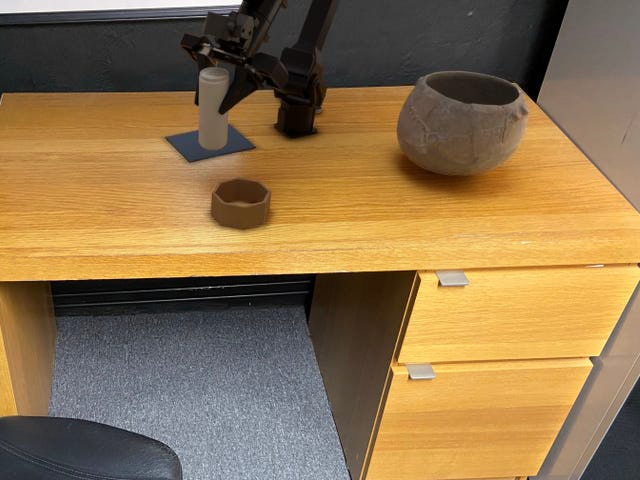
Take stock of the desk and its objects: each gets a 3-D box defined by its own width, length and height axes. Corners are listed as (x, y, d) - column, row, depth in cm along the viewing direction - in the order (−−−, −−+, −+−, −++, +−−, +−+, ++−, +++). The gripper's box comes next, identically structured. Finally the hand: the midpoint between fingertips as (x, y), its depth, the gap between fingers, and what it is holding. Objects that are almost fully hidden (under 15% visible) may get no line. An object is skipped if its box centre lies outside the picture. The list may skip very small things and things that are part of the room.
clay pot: (374, 143, 133) (391, 64, 123) (479, 138, 135) (504, 59, 124) (411, 199, 118) (433, 114, 108) (529, 193, 119) (562, 108, 109)
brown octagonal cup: (250, 195, 119) (252, 173, 116) (277, 220, 113) (279, 198, 110) (203, 206, 116) (204, 185, 114) (228, 233, 111) (229, 211, 108)
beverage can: (220, 153, 114) (223, 81, 106) (193, 148, 115) (194, 76, 107) (231, 141, 117) (234, 69, 109) (205, 135, 119) (206, 65, 110)
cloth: (228, 125, 139) (228, 123, 139) (255, 147, 132) (255, 146, 132) (165, 138, 135) (165, 136, 135) (189, 162, 128) (189, 161, 128)
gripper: (185, -25, 107) (139, 69, 109) (284, 0, 98) (232, 102, 100) (217, 16, 116) (174, 102, 118) (309, 42, 107) (261, 134, 109)
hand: (207, 109), depth 111 cm, fingers closed on beverage can, 5 cm apart
